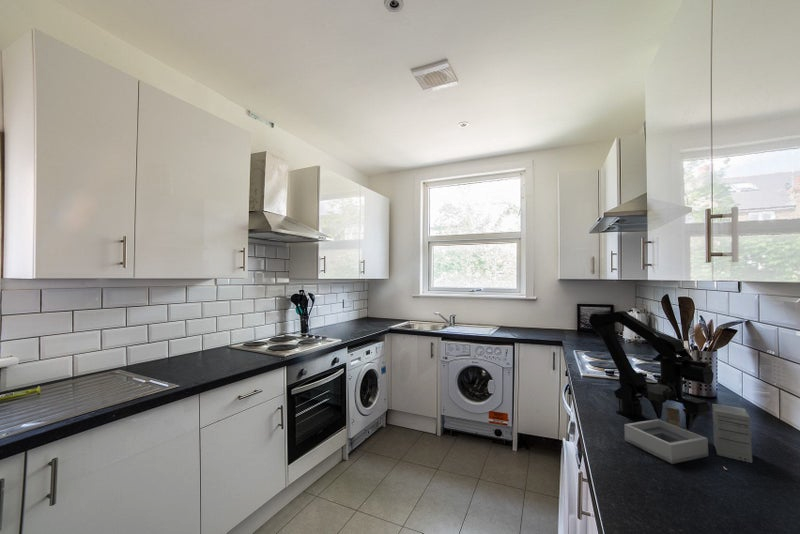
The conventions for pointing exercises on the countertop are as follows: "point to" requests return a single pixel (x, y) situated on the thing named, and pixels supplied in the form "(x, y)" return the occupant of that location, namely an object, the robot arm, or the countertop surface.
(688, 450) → the grey box
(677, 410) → the wooden peg
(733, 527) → the countertop surface
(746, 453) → the supplement box
